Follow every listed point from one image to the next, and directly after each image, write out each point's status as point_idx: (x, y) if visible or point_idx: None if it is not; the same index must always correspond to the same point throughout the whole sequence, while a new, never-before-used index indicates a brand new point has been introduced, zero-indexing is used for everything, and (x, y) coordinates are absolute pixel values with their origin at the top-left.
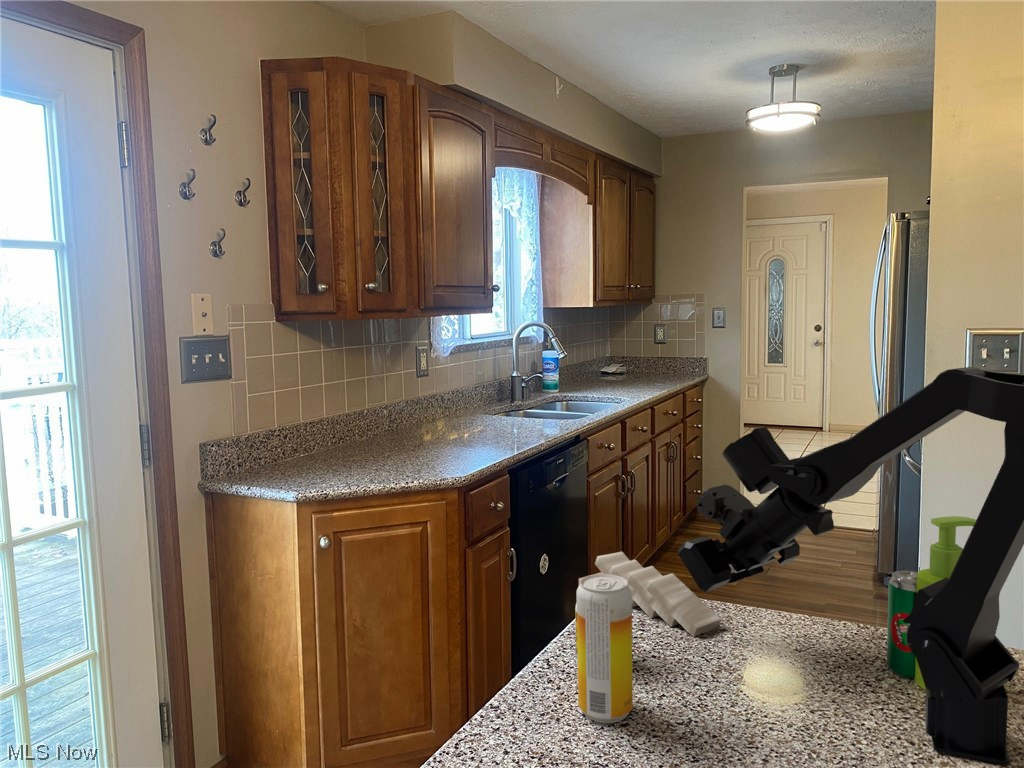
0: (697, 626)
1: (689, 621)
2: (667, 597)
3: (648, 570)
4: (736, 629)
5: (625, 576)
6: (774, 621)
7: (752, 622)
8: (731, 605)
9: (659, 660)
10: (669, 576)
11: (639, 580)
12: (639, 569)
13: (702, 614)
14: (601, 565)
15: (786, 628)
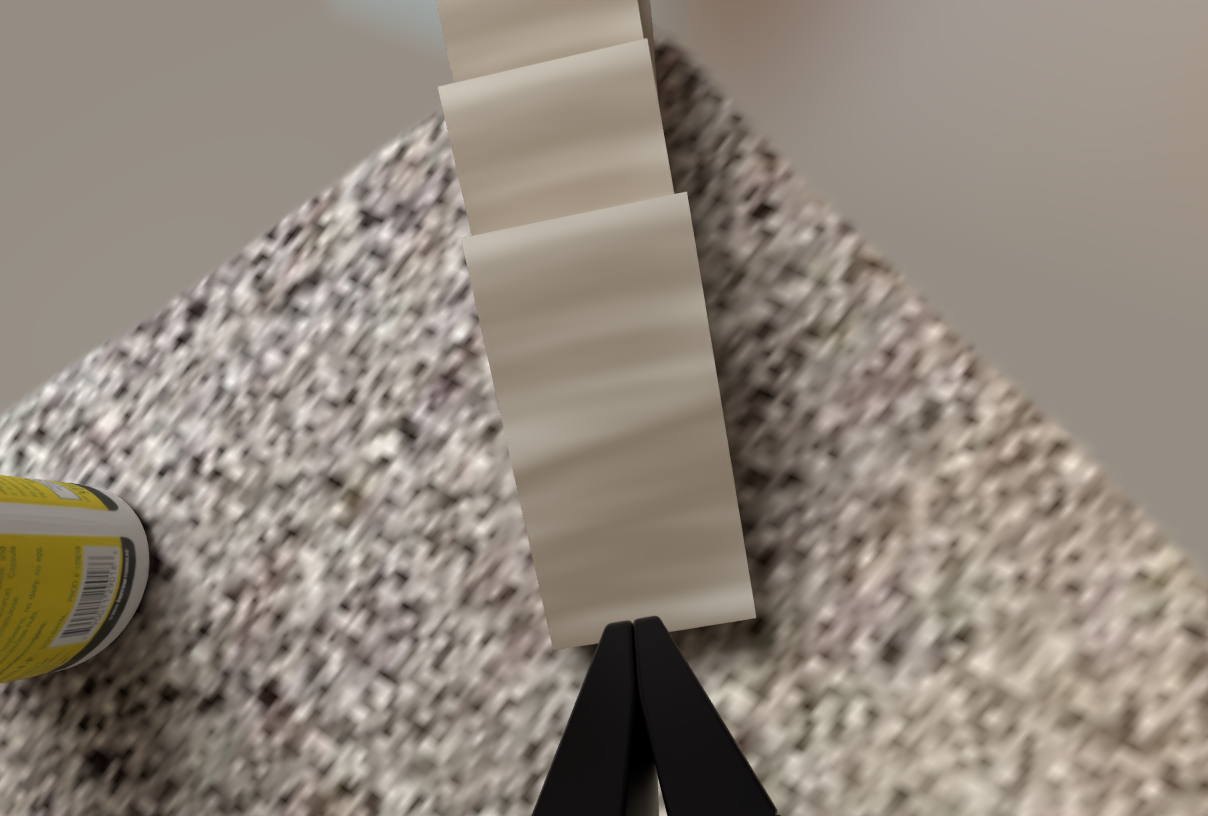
0: (567, 638)
1: (542, 596)
2: (509, 404)
3: (591, 83)
4: (823, 660)
5: (474, 68)
6: (1106, 688)
7: (969, 632)
8: (1001, 393)
9: (261, 746)
10: (642, 221)
11: (478, 167)
12: (600, 17)
13: (660, 565)
14: None
15: (1113, 807)
